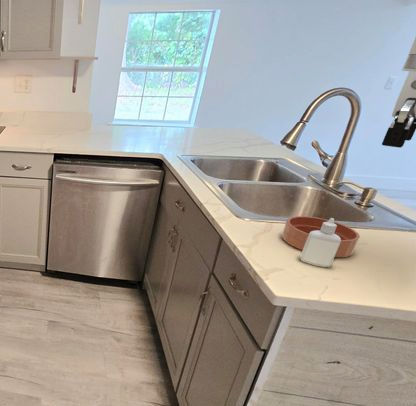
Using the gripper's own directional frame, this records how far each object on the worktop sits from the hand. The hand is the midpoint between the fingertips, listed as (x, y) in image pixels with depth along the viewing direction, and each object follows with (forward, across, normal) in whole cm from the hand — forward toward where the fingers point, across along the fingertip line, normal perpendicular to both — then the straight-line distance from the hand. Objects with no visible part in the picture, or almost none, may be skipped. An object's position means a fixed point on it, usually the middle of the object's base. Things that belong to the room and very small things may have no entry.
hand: (396, 142), depth 84 cm
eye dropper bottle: (+28, -16, +3) cm, 32 cm away
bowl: (+28, -4, +6) cm, 29 cm away
